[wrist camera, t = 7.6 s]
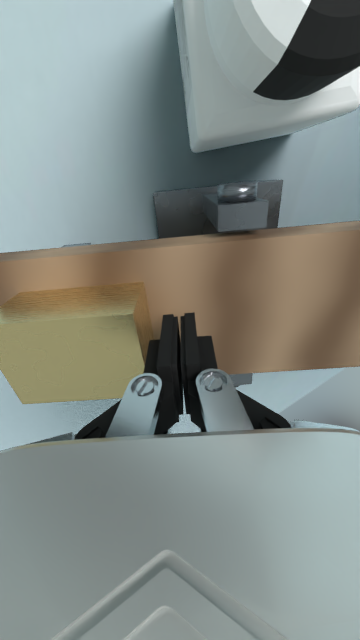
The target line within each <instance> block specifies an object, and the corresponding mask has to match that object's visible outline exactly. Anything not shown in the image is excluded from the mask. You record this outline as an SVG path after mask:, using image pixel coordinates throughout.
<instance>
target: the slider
mask: <svg viewBox="0 0 360 640" xmlns="http://www.w3.org/2000/svg"><path fill="white" fill-rule="evenodd" d="M150 340H154V334H153V329H152V323H151V318H150V312H149V307H148V301H147V296H146V290H145V285H144V282H134V283H122V284H111V285H99V286H88V287H76V288H64V289H53V290H41V291H29V292H19V293H18V294H17V295H15V296H14V297H12V298H11V299H10V300H8V301H7V302H6V303H4V304H3V305H1V306H0V370H1V371H2V373H3V374H4V376H5V377H6V379H7V381H8V382H9V384H10V385H11V387H12V388H13V390H14V391H15V393H16V394H17V396H18V398H19V399H20V401H21V402H22V404H33V403H49V402H66V401H82V400H98V399H115V398H122V397H123V395H124V393H125V391H126V388H127V386H128V384H129V382H130V381H131V380H132V379H133V378H134V377H136V376H138V375H140V374H143V372H144V367H145V361H146V356H147V350H148V345H149V341H150Z"/></svg>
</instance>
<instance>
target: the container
mask: <svg viewBox="0 0 360 640" xmlns="http://www.w3.org/2000/svg"><path fill="white" fill-rule="evenodd" d="M174 12H175V20H176V29H177V37H178V46H179V54H180V63H181V72H182V80H183V89H184V97H185V106H186V114H187V123H188V131H189V140H190V148H191V151H193V152H194V153H198V152H203V151H208V150H213V149H218V148H223V147H228V146H233V145H238V144H243V143H248V142H253V141H258V140H263V139H268V138H273V137H278V136H283V135H288V134H292V133H295V132H298V131H300V130H303V129H306V128H309V127H311V126H314V125H317V124H320V123H322V122H325V121H328V120H331V119H333V118H336V117H339V116H342V115H345V114H347V113H350V112H352V111H354V110H356V109H357V108H358V107H359V105H360V0H174Z"/></svg>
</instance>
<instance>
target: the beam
mask: <svg viewBox="0 0 360 640" xmlns="http://www.w3.org/2000/svg"><path fill="white" fill-rule="evenodd" d="M134 282H144V285H145V290H146V296H147V301H148V307H149V312H150V318H151V323H152V329H153V334H154V340H157V339H160V335H161V327H162V318H163V315H168V314H173V315H174V317H178V324H179V333H180V342H181V321H180V317H181V316H184V313H193V312H195V322H196V331H197V336H210V335H211V336H212V341H213V346H214V352H215V357H216V362H217V367H218V369H220V370H222V371H224V372H226V373H227V374H228V375H230V374H246V373H262V372H278V371H294V370H310V369H326V368H342V367H358V366H360V221H350V222H339V223H328V224H317V225H306V226H295V227H284V228H273V229H262V230H251V231H240V232H228V233H217V234H206V235H195V236H184V237H173V238H162V239H151V240H140V241H129V242H118V243H107V244H96V245H85V246H74V247H63V248H52V249H41V250H30V251H19V252H8V253H0V306H1V305H3V304H4V303H6V302H7V301H8V300H10V299H11V298H12V297H14V296H15V295H17V294H18V293H19V292H29V291H41V290H53V289H64V288H76V287H88V286H99V285H111V284H122V283H134Z"/></svg>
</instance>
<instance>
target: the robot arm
mask: <svg viewBox="0 0 360 640" xmlns="http://www.w3.org/2000/svg"><path fill="white" fill-rule="evenodd" d="M180 321H181V342H180V333H179V324H178V317H174V315H173V314H168V315H163V318H162V327H161V335H160V339H157V340H150V341H149V345H148V350H147V356H146V361H145V367H144V372H143V374H140V375H138V376H136V377H134V378H133V379H132V380H131V381H130V382H129V384H128V386H127V388H126V391H125V393H124V395H123V397H122V400H120V401H119V402H117V403H116V404H115V405H113V406H112V407H111V408H109V409H108V410H106V411H105V412H104V413H102V414H101V415H100V416H98V417H97V418H96V419H94V420H93V421H91V422H90V423H89V424H87V425H86V426H85V427H83V428H82V429H81V430H80V431H79V432H78V434H75V435H74V434H73V433H72V432H71V433H68V434H64V435H60V436H56V437H53V438H49V439H45V440H41V441H38V442H34V443H30V444H26V445H22V446H17V447H12V448H9V449H5V450H2V451H0V640H360V432H359V431H358V430H356V429H352V428H349V427H343V426H335V425H329V424H321V423H315V422H308V421H301V420H294V422H288V421H287V420H286V419H284V418H283V417H282V416H280V415H279V414H277V413H275V412H274V411H272V410H270V409H268V408H267V407H265V406H263V405H262V404H260V403H258V402H257V401H255V400H253V399H251V398H250V397H248V396H246V395H245V394H243V393H241V392H240V391H238V390H236V389H235V387H234V384H233V382H232V380H231V378H230V376H229V375H228V374H227V373H226V372H224V371H222V370H220V369H218V367H217V362H216V357H215V352H214V346H213V341H212V336H211V335H210V336H197V331H196V322H195V312H193V313H184V316H181V317H180ZM183 389H184V397H185V406H186V414H190V415H191V421H192V422H193V423H194V424H196V425H197V426H198V427H199V428H200V432H196V433H178V434H171V429H170V428H171V427H172V426H173V425H174V424H175V423H176V422H179V415H180V414H183Z"/></svg>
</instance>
